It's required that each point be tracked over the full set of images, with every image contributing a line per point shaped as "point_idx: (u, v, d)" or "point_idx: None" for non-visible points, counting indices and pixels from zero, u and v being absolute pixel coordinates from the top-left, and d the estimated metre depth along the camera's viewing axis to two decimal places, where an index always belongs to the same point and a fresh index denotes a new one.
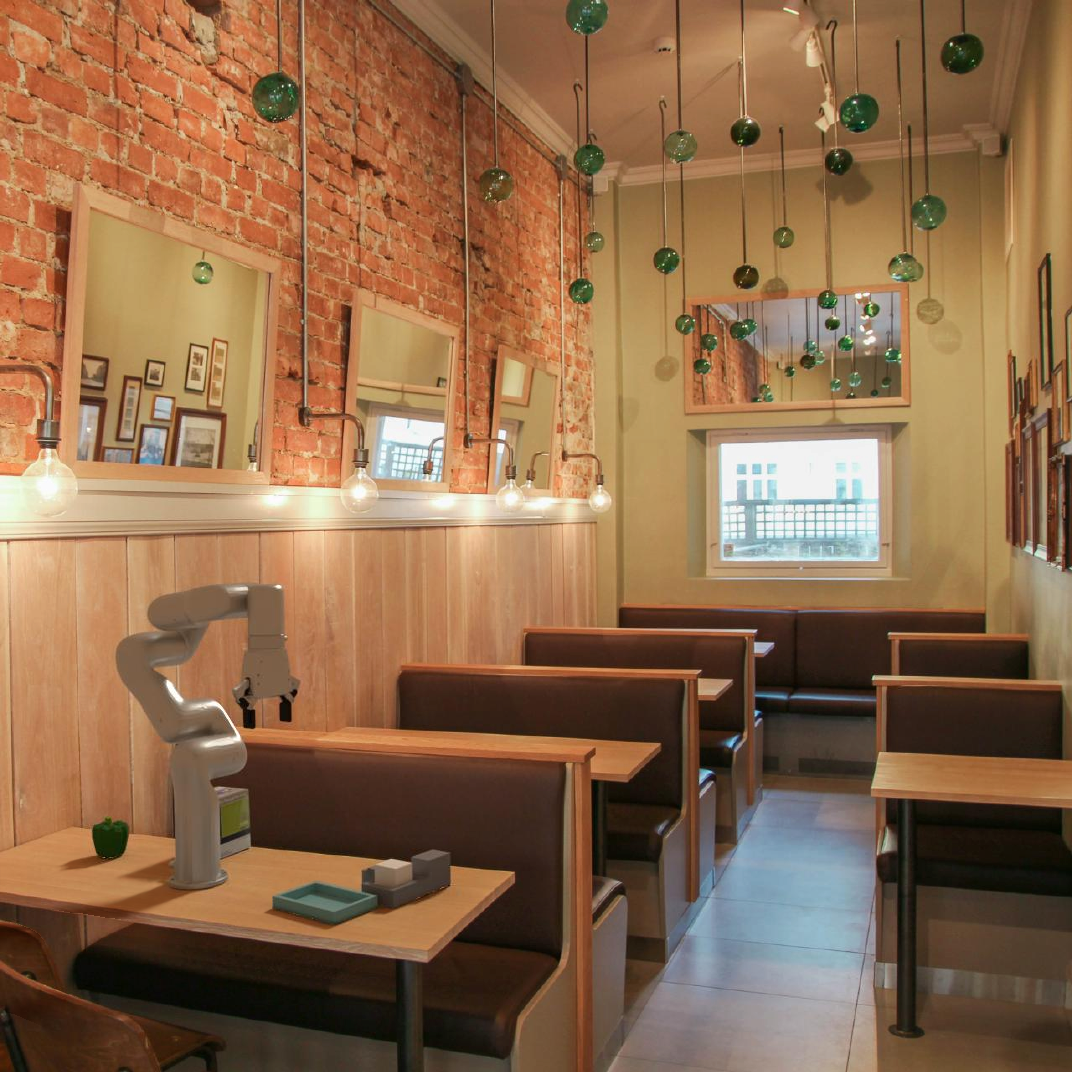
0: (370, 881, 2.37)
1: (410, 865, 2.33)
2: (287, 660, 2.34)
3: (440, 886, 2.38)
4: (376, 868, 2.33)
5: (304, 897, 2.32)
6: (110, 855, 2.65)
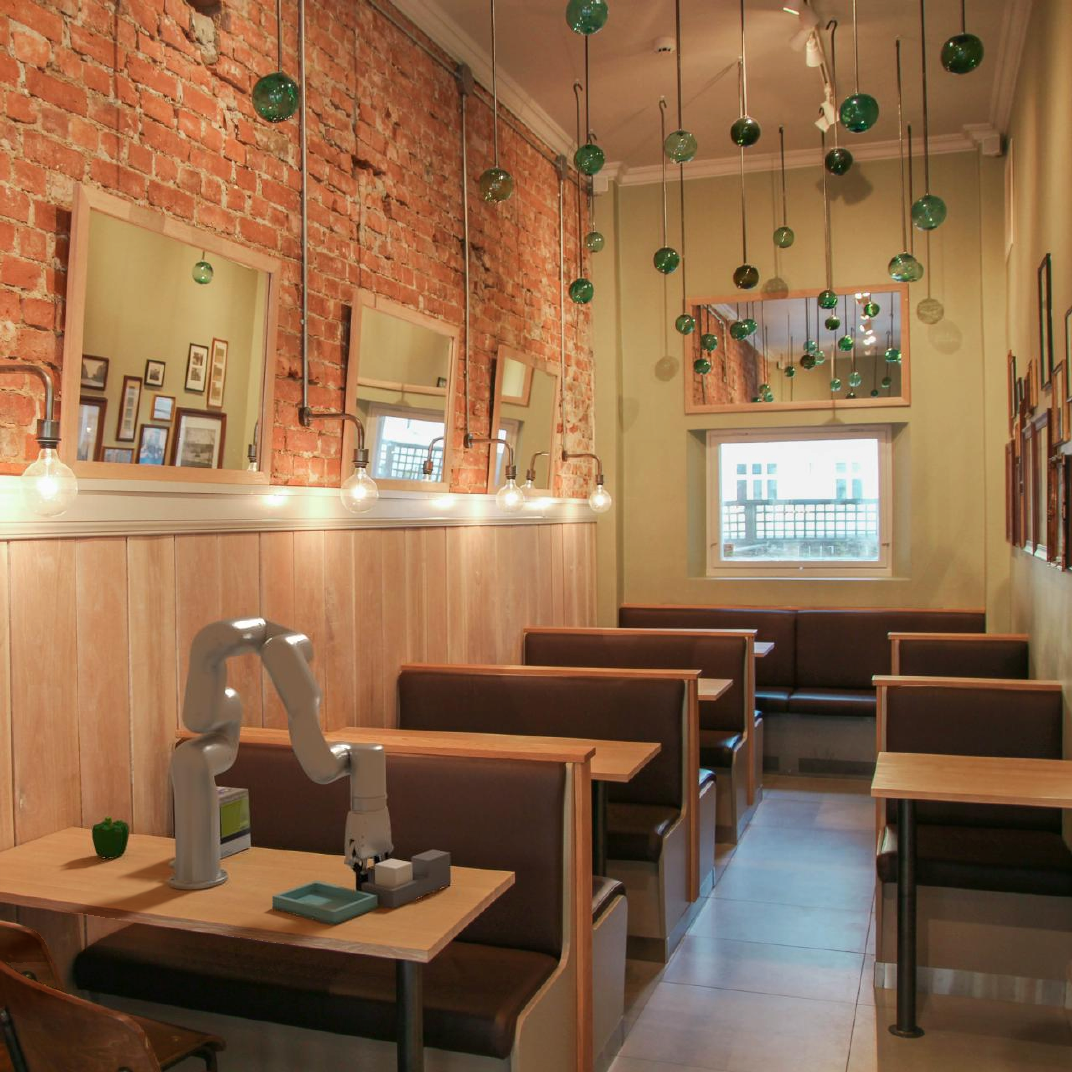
0: (370, 881, 2.37)
1: (410, 865, 2.33)
2: (388, 818, 2.39)
3: (440, 886, 2.38)
4: (376, 868, 2.33)
5: (304, 897, 2.32)
6: (110, 855, 2.65)
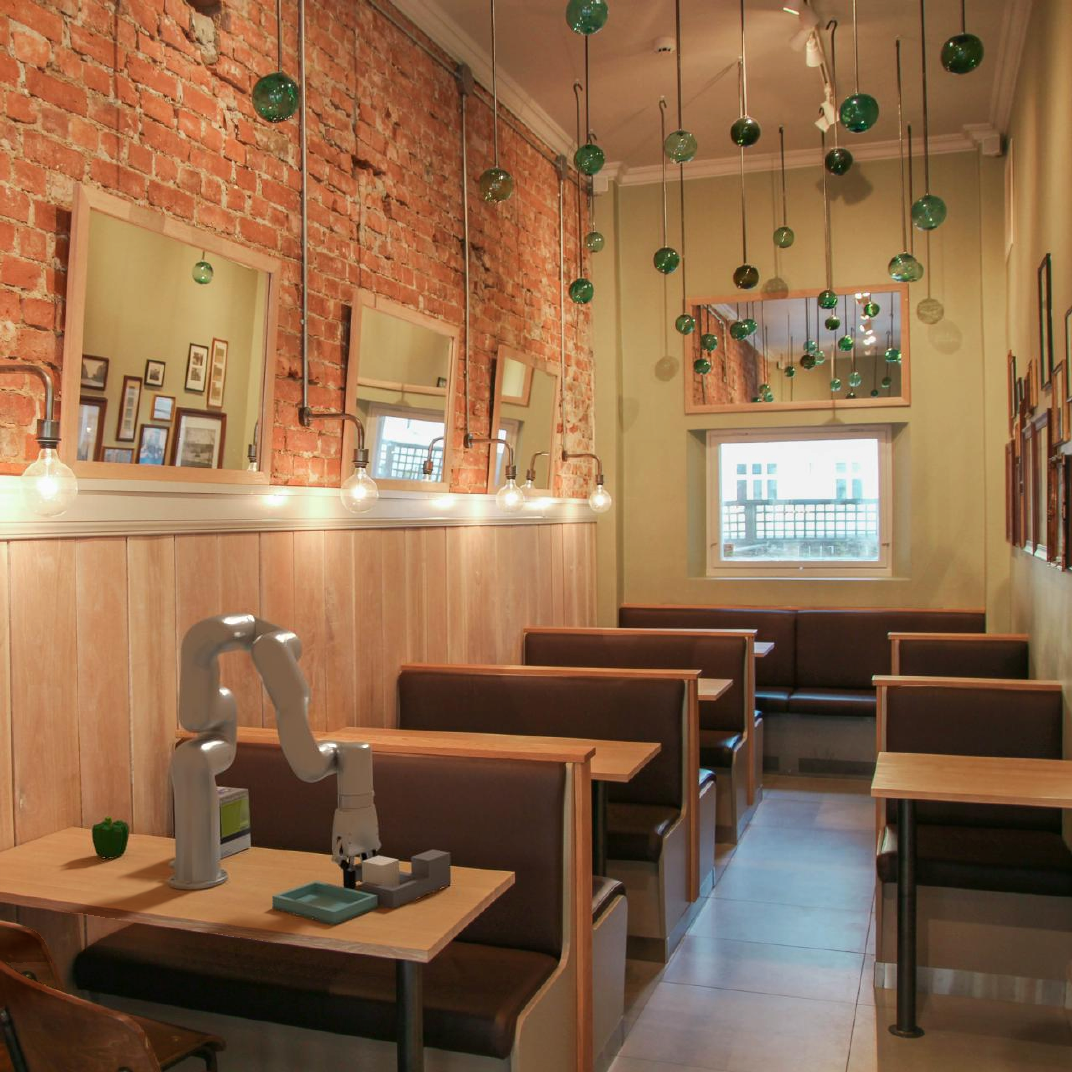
0: (358, 878, 2.40)
1: (397, 862, 2.36)
2: (375, 816, 2.42)
3: (440, 886, 2.38)
4: (363, 865, 2.35)
5: (304, 897, 2.32)
6: (110, 855, 2.65)
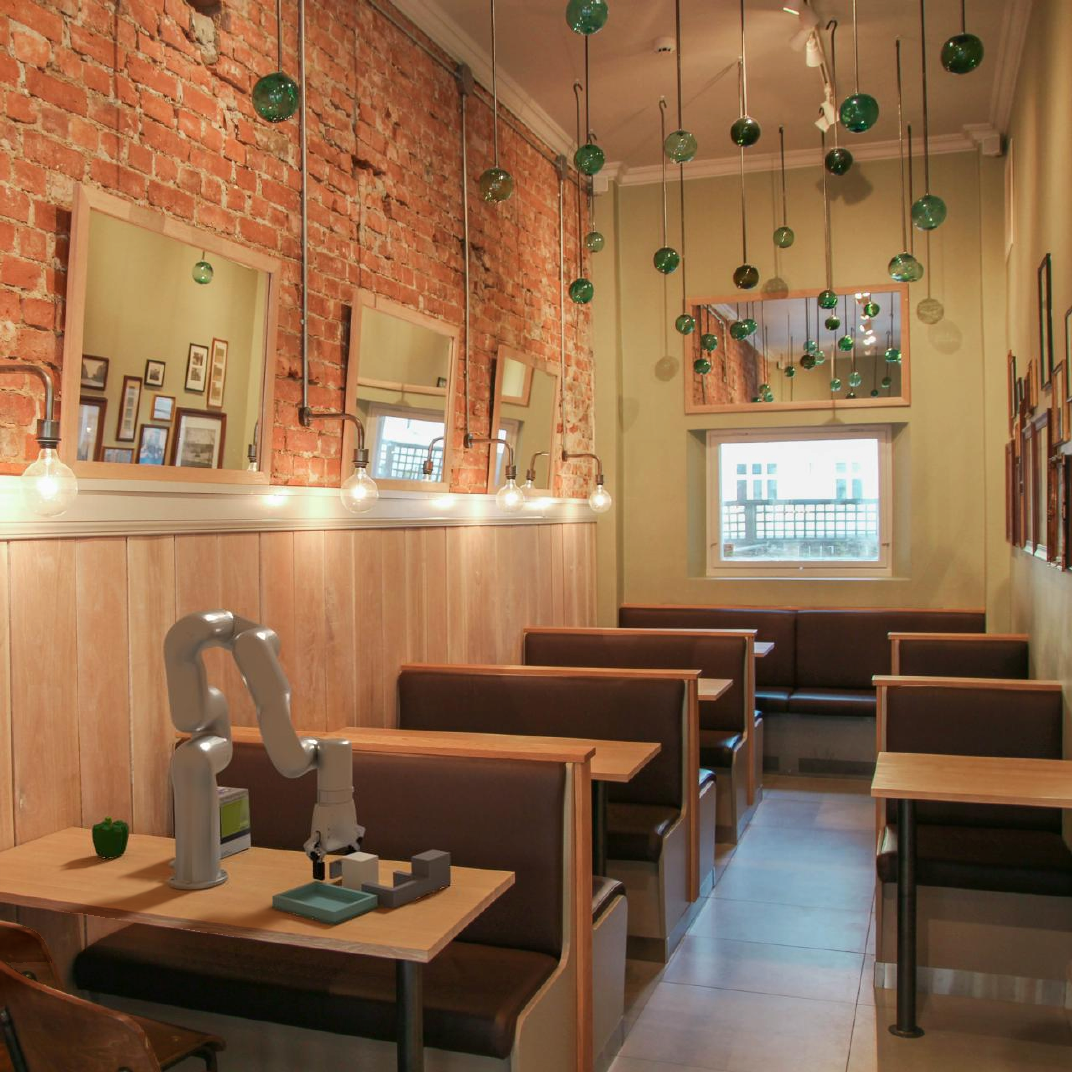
0: (337, 873, 2.43)
1: (376, 858, 2.39)
2: (354, 811, 2.45)
3: (440, 886, 2.38)
4: (343, 861, 2.39)
5: (304, 897, 2.32)
6: (110, 855, 2.65)
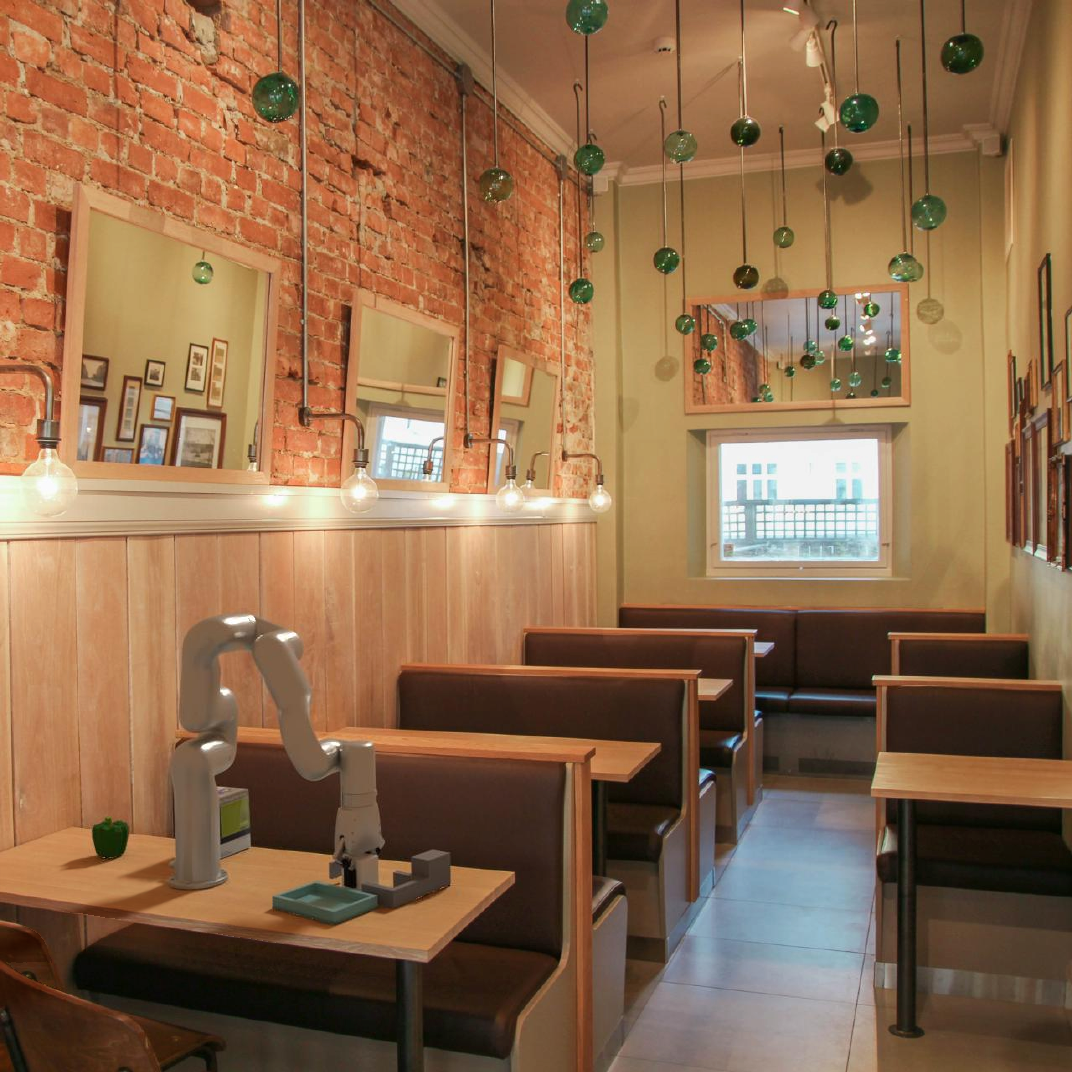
0: (337, 873, 2.43)
1: (376, 857, 2.39)
2: (378, 814, 2.41)
3: (440, 886, 2.38)
4: None
5: (304, 897, 2.32)
6: (110, 855, 2.65)
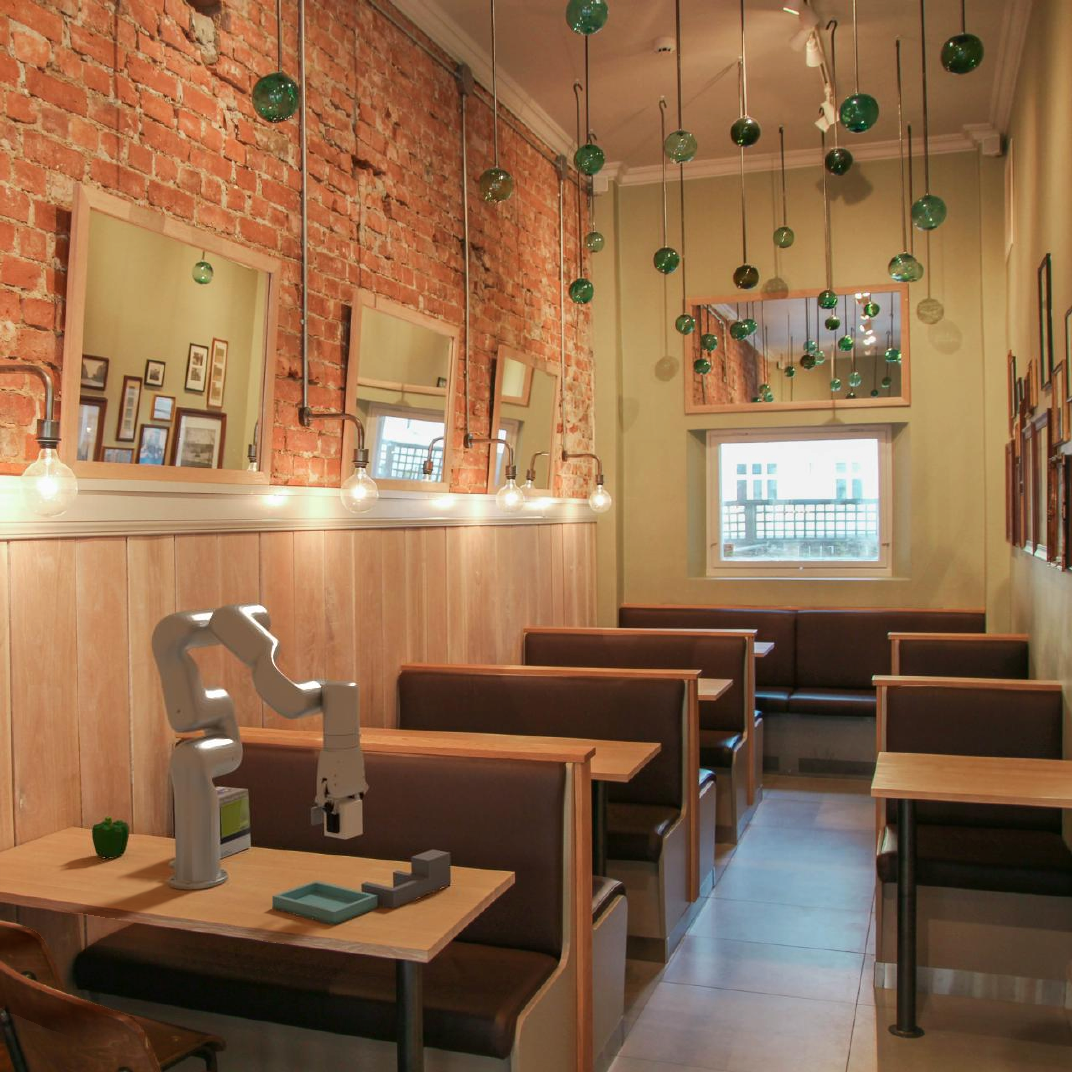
0: (319, 819, 2.34)
1: (360, 802, 2.30)
2: (362, 758, 2.32)
3: (440, 886, 2.38)
4: None
5: (304, 897, 2.32)
6: (110, 855, 2.65)
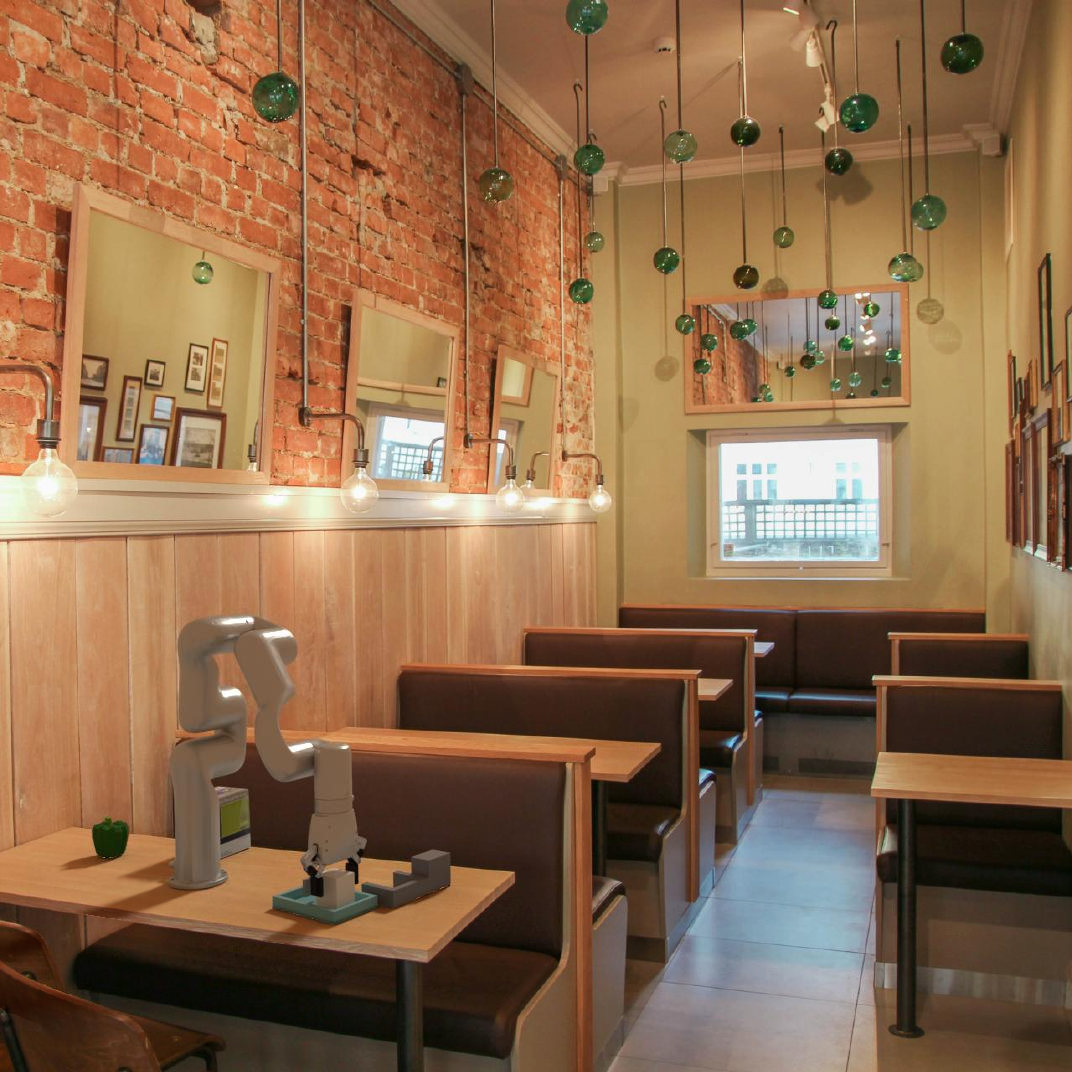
0: None
1: (352, 874, 2.25)
2: (354, 821, 2.27)
3: (440, 886, 2.38)
4: None
5: (304, 897, 2.32)
6: (110, 855, 2.65)
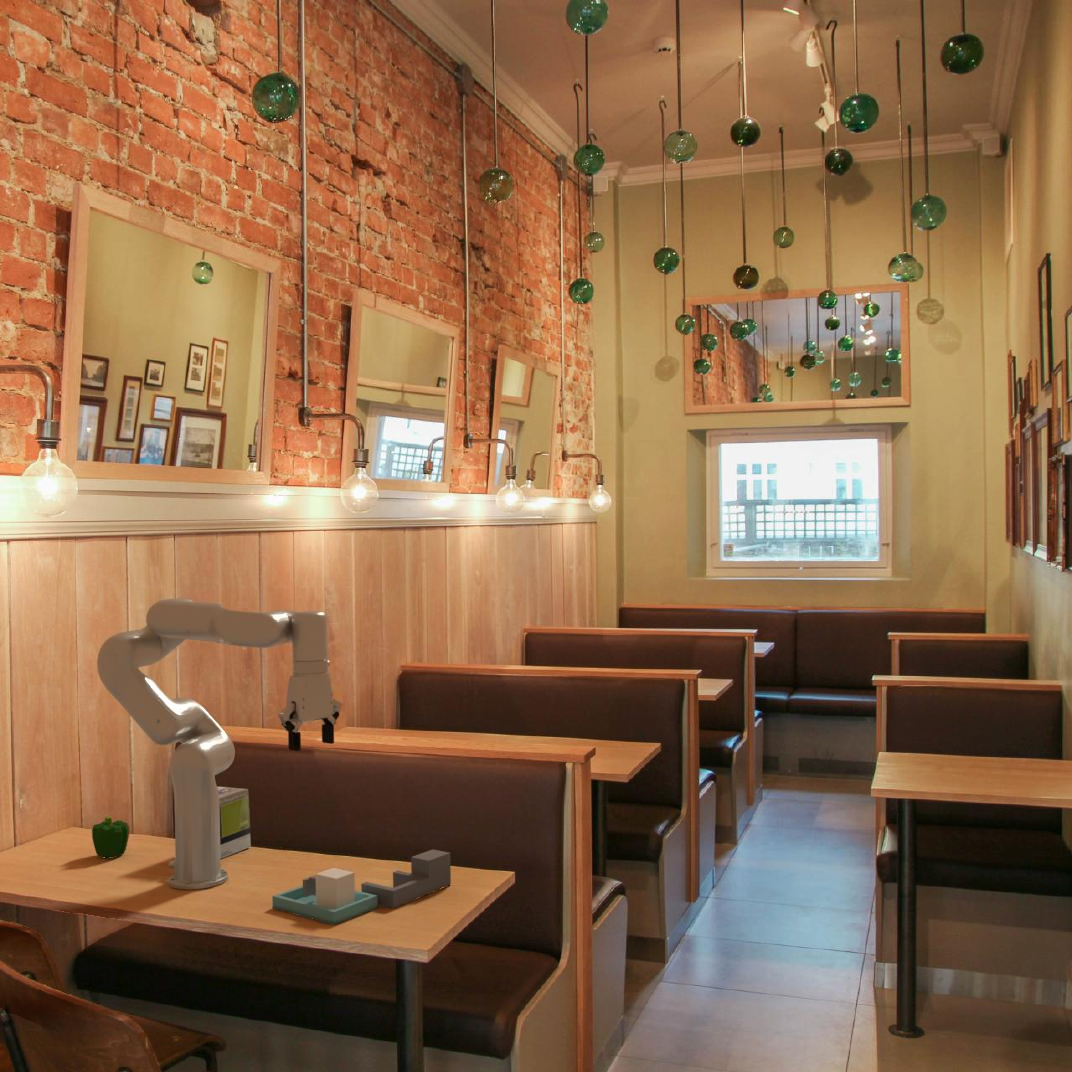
0: (312, 891, 2.29)
1: (352, 874, 2.25)
2: (330, 684, 2.44)
3: (440, 886, 2.38)
4: (317, 878, 2.25)
5: (304, 897, 2.32)
6: (110, 855, 2.65)
